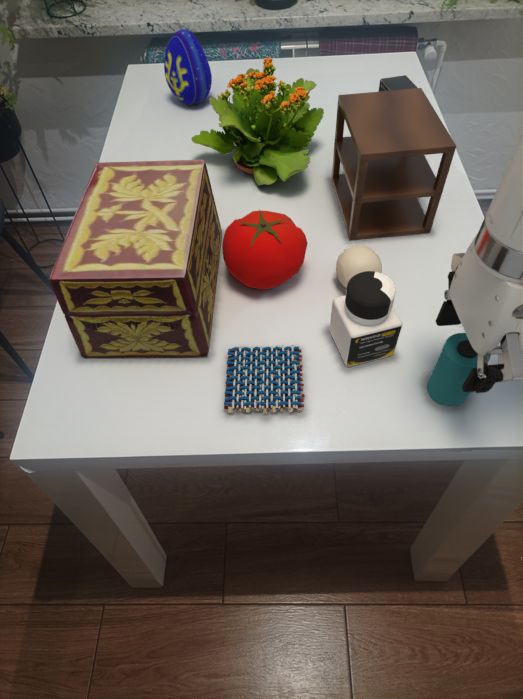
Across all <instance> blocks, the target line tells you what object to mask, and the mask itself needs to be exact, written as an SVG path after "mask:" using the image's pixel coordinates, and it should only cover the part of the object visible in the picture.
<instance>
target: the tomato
mask: <svg viewBox="0 0 523 699" xmlns="http://www.w3.org/2000/svg"><path fill="white" fill-rule="evenodd" d="M221 246H222V248H221V250H222V259H223V261H224V264H225V267H226V268H227V270H228V272H229V273H230V274H231V275H232V277H233V278H235V279H236V280H237V281H238V282H240V283H241V284H243V285H245V286H246V287H247V288H250V289H258V290H269V289H274V288H276V287H278V286H280V285H283V284H284V283H286V282H287V281H289V280H290V279H292V278H293V277H294V276H296V275H297V274H298V273H299V271H300V269H301V268H302V266H303V265H304V262H305V258H306V252H307V248H308V240H307V237H306V234H305V232H304V231H303V229H302V228H300V227H299V226H298V225H296V223H295V222H294V220H292V218H291V217H290V216H288V215H287V214H285V213H281V212H276V211H271V210H261V209H258V210H252V211H251V212H249V213H247V214H246V215H244V216H243V217H240V218H235V219H234V220H233V221H232V222H231V223H230V224H229V225H228V226H227V227H226V229H225V231H224V234H223V238H222V243H221Z"/></svg>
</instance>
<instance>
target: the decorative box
mask: <svg viewBox="0 0 523 699" xmlns="http://www.w3.org/2000/svg"><path fill="white" fill-rule="evenodd" d="M222 233H223V231H222V226H221V222H220V218H219V213H218V209H217V205H216V201H215V196H214V193H213V189H212V183H211V179H210V175H209V171H208V168H207V163H206V160H205V159H177V160H175V159H173V160H143V161H141V160H139V161H137V160H136V161H106V162H96V163H95V165H94V167H93V170H92V172H91V175H90V177H89V180H88V182H87V184H86V187H85V189H84V192H83V194H82V197H81V199H80V201H79V204H78V206H77V209H76V211H75V214H74V216H73V219H72V221H71V223H70V226H69V228H68V231H67V233H66V236H65V237H64V240H63V243H62V245H61V248H60V251H59V253H58V256H57V257H56V261H55V263H54V265H53V268H52V270H51V273H50V275H49V283H50V286H51V288H52V291H53V293H54V295H55V298H56V300H57V303H58V305H59V307H60V310H61V312H62V314H63V315H64V319H65V321H66V324H67V326H68V328H69V331H70V333H71V335H72V338H73V340H74V343H75V345H76V347H77V349H78V350H77V351H78V352H79V354H80V356H81V357H82V358H84V359H85V358H86V359H89V358H90V359H100V358H101V359H103V358H104V359H106V358H107V359H111V358H113V359H114V358H115V359H116V358H117V359H118V358H119V359H120V358H122V359H123V358H124V359H126V358H129V359H131V358H133V359H134V358H136V359H137V358H207V357H208V355H209V348H210V340H211V332H212V323H213V314H214V308H215V307H214V306H215V299H216V298H215V297H216V289H217V281H218V280H217V279H218V271H219V262H220V253H221V246H222V236H223V234H222Z"/></svg>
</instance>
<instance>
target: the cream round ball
mask: <svg viewBox="0 0 523 699" xmlns="http://www.w3.org/2000/svg"><path fill="white" fill-rule="evenodd" d="M382 264H383V263H382V260H381V258H380V256H379V254H378V253H377V252H376V250H374V249H372V248H371V247H369V246H367V245H363V244H357V245H352V246H349V247H347V248H345V249H344V250H343V251H342V252H340V254H338V256H337V260H336V264H335V272H336V276H337V279H338V281H339V283H340V284H341V285H342V286H343V287H344V288H346V289H347V284H348V282H349V280H350V279H351V278H352V277H353V276H355V275H356V274H358V273H361V272H365V271H375V272H379V273H382V272H383V265H382Z"/></svg>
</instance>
